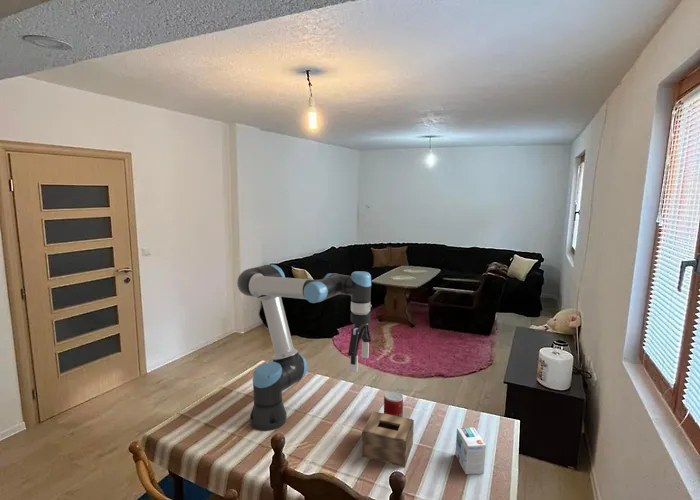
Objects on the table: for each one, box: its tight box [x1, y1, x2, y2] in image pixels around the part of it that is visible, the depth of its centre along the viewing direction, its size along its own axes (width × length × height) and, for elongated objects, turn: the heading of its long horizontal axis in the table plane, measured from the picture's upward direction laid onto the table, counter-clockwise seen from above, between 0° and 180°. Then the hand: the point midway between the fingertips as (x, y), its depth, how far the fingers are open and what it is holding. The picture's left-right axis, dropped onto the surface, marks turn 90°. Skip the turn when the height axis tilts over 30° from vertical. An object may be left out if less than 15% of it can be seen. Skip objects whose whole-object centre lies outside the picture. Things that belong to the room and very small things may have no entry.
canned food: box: [383, 390, 404, 418], centre depth 165 cm, size 8×8×11 cm
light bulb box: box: [455, 427, 487, 475], centre depth 138 cm, size 11×7×11 cm, turn 5°
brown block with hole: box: [361, 411, 415, 468], centre depth 145 cm, size 16×14×10 cm
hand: (359, 364), depth 153 cm, fingers open, 13 cm apart
